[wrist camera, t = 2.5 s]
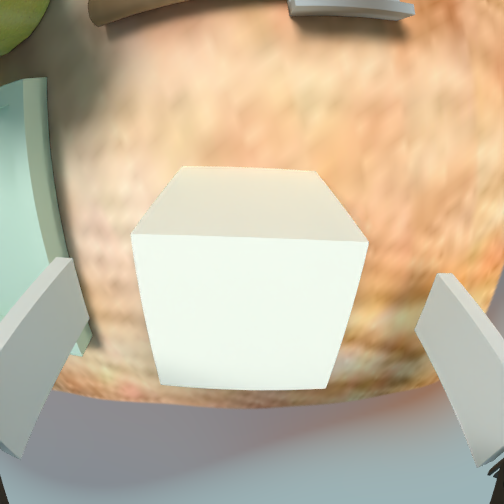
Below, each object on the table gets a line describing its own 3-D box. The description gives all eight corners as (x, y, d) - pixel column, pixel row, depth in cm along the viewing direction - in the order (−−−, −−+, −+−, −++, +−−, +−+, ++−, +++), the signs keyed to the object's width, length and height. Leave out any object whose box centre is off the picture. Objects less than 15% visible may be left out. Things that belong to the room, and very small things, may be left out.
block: (187, 278, 16) (160, 384, 10) (182, 166, 14) (130, 233, 7) (300, 281, 17) (325, 388, 11) (315, 171, 14) (368, 242, 8)
